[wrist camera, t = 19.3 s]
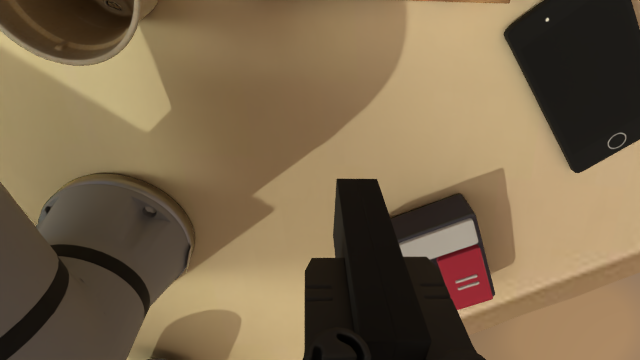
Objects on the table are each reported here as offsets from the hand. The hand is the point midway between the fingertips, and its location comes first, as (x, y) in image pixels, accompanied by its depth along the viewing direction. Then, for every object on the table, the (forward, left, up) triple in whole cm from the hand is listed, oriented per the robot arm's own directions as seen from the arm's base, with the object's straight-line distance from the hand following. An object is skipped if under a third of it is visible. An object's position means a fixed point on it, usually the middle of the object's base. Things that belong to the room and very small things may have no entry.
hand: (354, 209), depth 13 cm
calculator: (+14, -22, -21) cm, 33 cm away
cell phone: (+24, 0, -20) cm, 31 cm away
